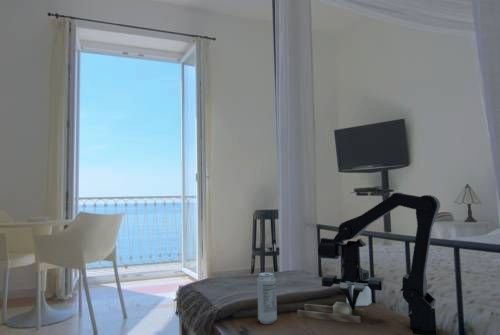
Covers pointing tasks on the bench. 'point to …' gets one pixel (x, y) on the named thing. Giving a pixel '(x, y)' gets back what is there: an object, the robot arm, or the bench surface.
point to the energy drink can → (267, 298)
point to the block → (342, 308)
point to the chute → (329, 315)
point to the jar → (364, 296)
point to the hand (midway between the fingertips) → (353, 309)
